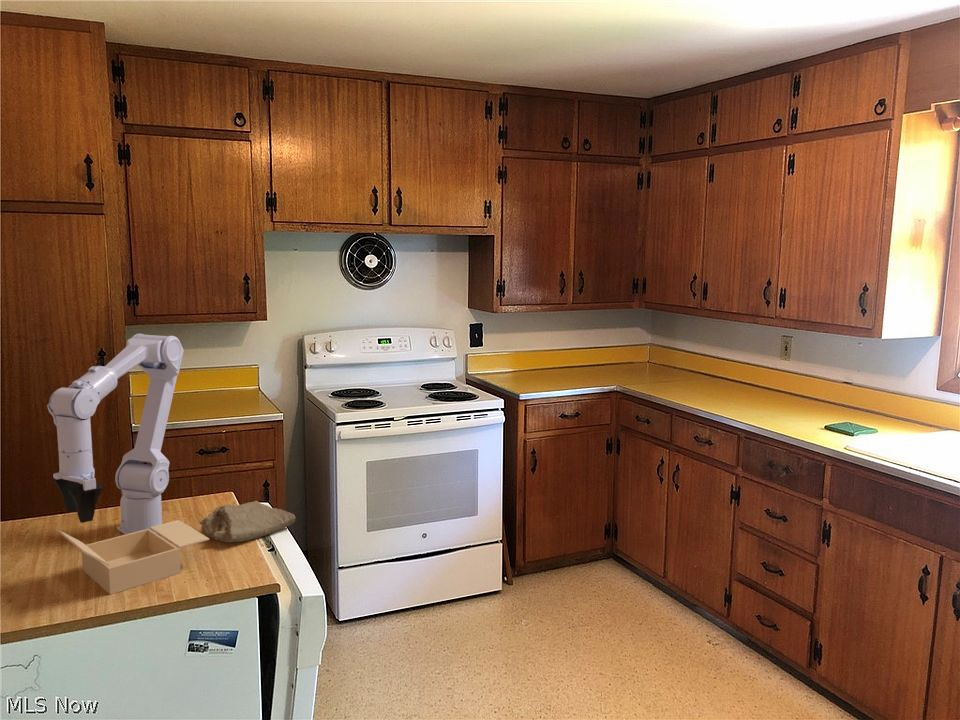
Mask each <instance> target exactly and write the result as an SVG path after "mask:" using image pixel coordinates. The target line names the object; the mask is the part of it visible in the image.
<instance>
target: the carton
mask: <svg viewBox="0 0 960 720" xmlns="http://www.w3.org/2000/svg"><path fill="white" fill-rule="evenodd" d="M151 529H152V530H151ZM154 531H155V532H154ZM157 533H158V534H157ZM206 541H210V537H209V536H207V535H205V534H203V533H201V532H199V531H198V530H196V529H195V528H193V527H191V526H189V525H188V524H186V523H184V522H183V521H181V520H180V519H176V520H173V521H169V522H166V523H162V524H161V525H157V526H153V527H150V528H149V529H145V530H141V531H137V532H134V533H130V534H126V535H125V534H123V535H122V534H121V535H119V536H114V537H110V538H105V539H103V540H99V541H96V542H95V541H94V542H92V543H87V544H85V545H86V546H88V547H89V548H90V549H91V550H92V551H94V552H95V553H96V554H97V555H99V556H100V557H101V558H102V559H104V560H105V561H106V562H107V563H109V564H110V565H109V566H108V565H106V564H104V563H102V562H100V561H98V560H97V559H95V558H93V557H91V556H89V555H87V554H85V553H84V552H82V551H81V550H80V552H81V564H82V571H83V572H84V573H85V574H86V575H88V577H90V578H91V579H92V580H93V581H94V582H95V583H97V584H98V585H99V586H100V587H101V588H102V589H103V590H104V591H105V592H107V593H108V595H110V596H111V595H114V594H117V593H120V592H124V591H127V590H130V589H133V588H137V587H139V586H143V585H146V584H149V583H152V582H156V581H158V580H162V579H165V578H168V577H173V576H174V575H179V574H181V573H182V569H181V568H182V566H181V565H182V564H181V549H182V548H186V547H189V546H192V545H197V544H199V543H202V542H206Z"/></svg>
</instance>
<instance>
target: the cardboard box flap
mask: <svg viewBox="0 0 960 720" xmlns="http://www.w3.org/2000/svg"><path fill="white" fill-rule="evenodd" d="M55 531H56V532H58V533H59V534H60V535H61V536H63V538H65V539H66V540H67V541H69V542H70V544H72V545H73V546H74V547H75V548H77V549H78V550H79V551H80V552H81V551H82V552H84V553H85V554H87V555H89V556H91V557H93V558H95V559H97V560H98V561H100V562H102V563H104V564H106V565H108V566H109V565H110V564H109V563H107V562H106V561H105V560H104V559H102V558H101V557H100V556H99V555H97V554H96V553H95V552H94V551H92V550H91V549H90V548H89V547H88V546H86V545H87V544H85V543H84V542H83V541H81V540H79V539H77V538H75V537H73V536H72V535H70V534H68V533H66V532H64V531H62V530H61V529H59V528H56V529H55ZM82 552H81V553H82Z"/></svg>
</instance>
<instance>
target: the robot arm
mask: <svg viewBox="0 0 960 720" xmlns="http://www.w3.org/2000/svg"><path fill="white" fill-rule="evenodd" d="M125 344H126V345H125V347H124V348H123V349H122V350H120V352H119V353H118V354H117V355H115V356H114V358H112V359H111V360H110V361H108V363H107V364H106V365H104V366H102V365H96V366H91V367H89V368H88V371H87V372H85V374H83V375H82V376H80V378H78V379H75V380H74V381H72V382H71V384H70V385H69V386H68V387H60V388H58V389H56V390H55V391H54V392H53V393H52V394H51V395H50V398H49V401H48V404H46V407H47V410H48V413H49V414H50V415H51V416H52V418H53V424H54V425H55V426H56V432H57V433H56V434H57V451H58V466H59V467H58V468H59V471H58V472H54V473H53V474H52V476H53V478H52V480H53V482H54V484H55V485H56V487H57V488H58V490H59V493H60V496H61V498H62V501H63V505H64V507H65V510H66V512H67V513H70V512H75V511H76V513H77V517H78V520H79V522H80V524H83V523H87V522H88V523H89V522H92V521H93V519H94V516H95V511H96V506H97V502H98V499H99V498H100V495H101V494H102V492H103V491H104V490H103V489H104V487H103V485H102V484H100V483H99V484H97V482H96V481H97V480H96V479H97V478H95V474H96V473H95V467H94V458H93V443H92V441H93V440H92V428H91V427H92V425H91V417H93V416H94V414H95V413H96V410H97V407H98V405H99V404H100V403H101V400H103V399H104V398H106V396H107V395H109V394H110V393H111V392H112V391H114V390H115V389H116V388H117V386H118V379H120V378H121V377H122V376H124V375H126V374H127V373H128V372H130V371H131V370H133V369H134V368H136V367H137V366H138V367H139V369H141V371H142V372H144V373H145V374H147V375H148V377H149V384H148V389H147V391H146V392H147V393H146V395H145V396H146V398H145V402H144V406H143V410H142V414H141V419H140V423H139V429H138V432H137V436H136V440H135V445H134V448H132V449H131V450H129V451H128V452H126V453H125V454H124V455H123V456H122V460H121V463H120V465H119V467H118V468H117V470H116V472H115V479H114V481H115V485H116V487H117V488H118V489H119V490H120V491H121V494H122V496H121V498H120V501H119V502H120V503H119V506H120V507H119V508H120V524H121V525H120V526H117V527H116V529H117V531H119V532H120V533H122V534H123V535H126V534H130V533H134V532H137V531H141V530H145V529H149V528H150V527H153V526H157V525H161V524H163V515H162V514H163V509H162V493H164V492H165V490H166V488H167V486H168V485H169V481H170V473H169V467H170V461H169V459H168V457H166V456H165V455H164V454H163V453H162V452H161V451H162V447H163V443H164V438H165V432H166V430H167V429H166V428H167V426H168V425H167V424H168V421H169V420H168V419H169V415H170V411H171V406H172V401H173V396H174V393H175V388H176V384H177V378H178V375H179V373H180V369H181V365H182V360H183V355H184V351H185V349H184V348H183V346H182V343H181V341H180V339H179V338H178V337H177V336H174V335H152V334H144V333H136V334H134V335H133V336H131V337H130V338H129V339H127V340H126V343H125ZM145 463H148V464H145ZM149 463H150V464H149ZM151 530H152V529H151ZM154 532H155V531H154ZM157 534H158V533H157Z"/></svg>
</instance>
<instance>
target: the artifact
mask: <svg viewBox="0 0 960 720" xmlns="http://www.w3.org/2000/svg"><path fill="white" fill-rule="evenodd" d="M295 522H296V516H295V514H294V513H291V512H290V511H287V510H283V509H282V508H275V507H271V506H269V505H266V504H264V503H261V502H259V501H258V500H254V501H249V502H246V503H245V502H244V503H241V504H236V505H234V504H230V505H228V504H227V505H226V504H225V505H220V506H217V507H216V508H215V509H214V511H212V512H211V513H209V514H208V515H207V516H206V517H204V518H203V519H202V520H200V521H199V524H200V525H201V528H200V529H201V530H202V532H203V533H204V535H205V536H206V537H208V538H212V539H215V540H216V541H221V542H226V543H236V542H237V543H238V542H244V541H245V542H246V541H250V540H251V539H252V540H255V539H258V538H261V537H265V536H268V535H270V534H272V533H275V532H278V531H281V530H282V529H285V528H287V527H290V526H291V525H292V524H294V523H295Z"/></svg>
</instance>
